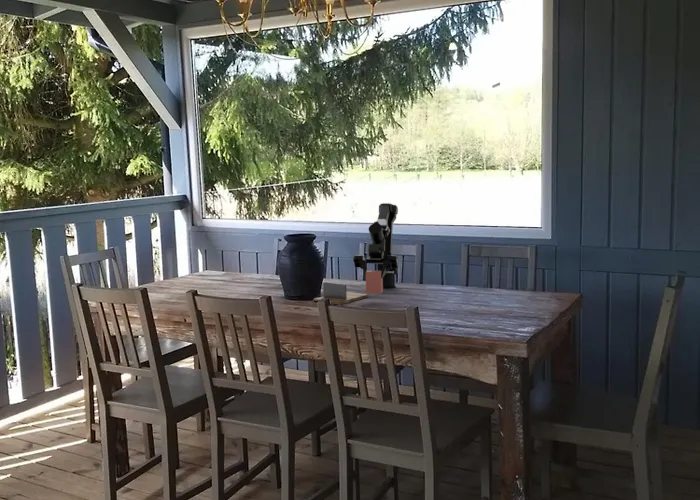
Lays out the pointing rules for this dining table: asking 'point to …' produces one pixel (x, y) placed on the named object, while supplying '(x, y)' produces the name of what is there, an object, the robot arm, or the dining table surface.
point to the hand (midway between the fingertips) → (373, 277)
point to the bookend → (334, 290)
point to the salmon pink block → (374, 282)
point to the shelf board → (350, 298)
